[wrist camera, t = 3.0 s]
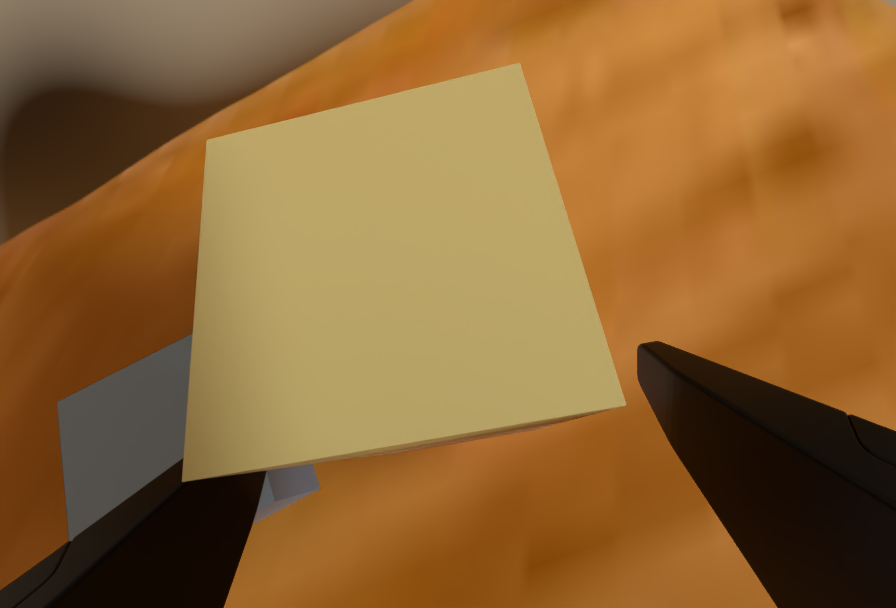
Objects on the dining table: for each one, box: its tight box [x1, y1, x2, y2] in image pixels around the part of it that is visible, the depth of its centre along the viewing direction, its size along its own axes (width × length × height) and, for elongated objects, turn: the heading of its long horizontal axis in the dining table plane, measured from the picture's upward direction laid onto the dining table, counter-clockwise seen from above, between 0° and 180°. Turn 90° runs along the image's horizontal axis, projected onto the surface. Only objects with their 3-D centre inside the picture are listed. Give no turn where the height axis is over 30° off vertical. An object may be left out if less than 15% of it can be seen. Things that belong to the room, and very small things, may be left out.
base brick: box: [57, 333, 320, 541], centre depth 17 cm, size 8×8×4 cm
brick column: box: [182, 63, 626, 482], centre depth 12 cm, size 5×5×14 cm
